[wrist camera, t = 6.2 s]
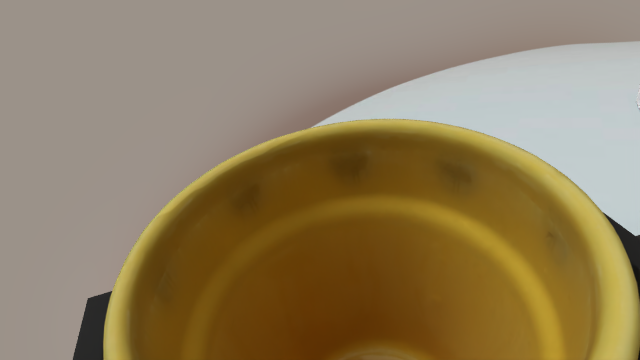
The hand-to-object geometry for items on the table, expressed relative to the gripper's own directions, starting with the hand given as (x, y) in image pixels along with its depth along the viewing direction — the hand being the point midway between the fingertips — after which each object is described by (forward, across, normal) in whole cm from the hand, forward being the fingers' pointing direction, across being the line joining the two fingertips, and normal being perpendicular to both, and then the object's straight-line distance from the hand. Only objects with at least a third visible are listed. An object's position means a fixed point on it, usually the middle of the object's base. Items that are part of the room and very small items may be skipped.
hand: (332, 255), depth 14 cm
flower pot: (-3, 0, -6) cm, 7 cm away
